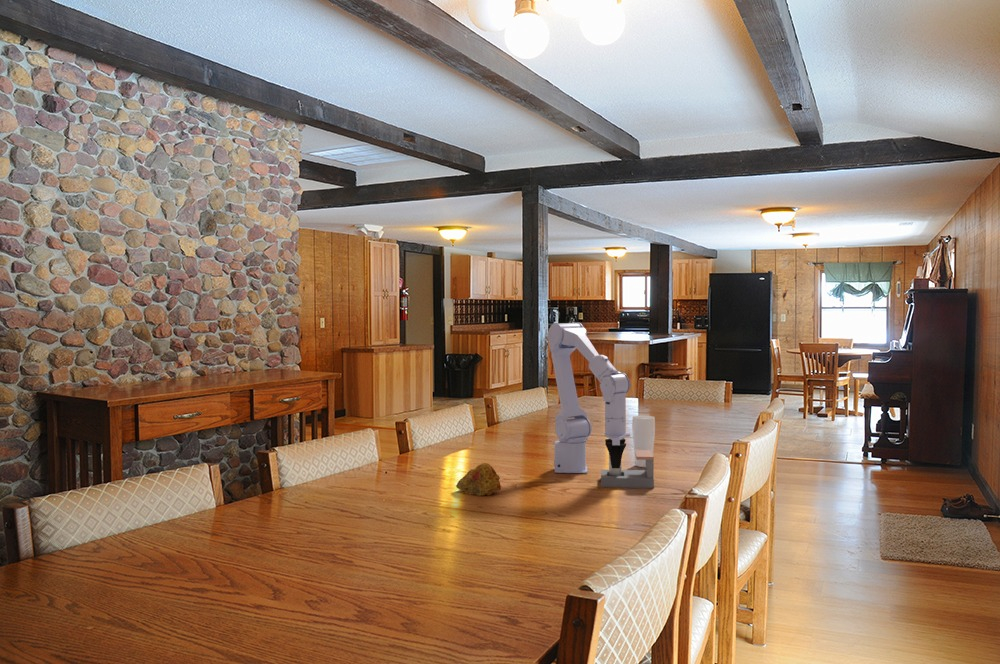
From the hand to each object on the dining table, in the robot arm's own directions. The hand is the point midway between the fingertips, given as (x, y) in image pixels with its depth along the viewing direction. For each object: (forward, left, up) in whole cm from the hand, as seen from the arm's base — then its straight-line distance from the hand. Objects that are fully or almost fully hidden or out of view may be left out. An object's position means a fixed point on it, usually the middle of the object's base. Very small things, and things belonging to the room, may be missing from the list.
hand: (615, 466), depth 201 cm
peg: (0, 0, -2) cm, 2 cm away
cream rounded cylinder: (+9, +22, -5) cm, 24 cm away
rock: (-36, -13, -5) cm, 38 cm away
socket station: (+3, 0, -4) cm, 5 cm away
